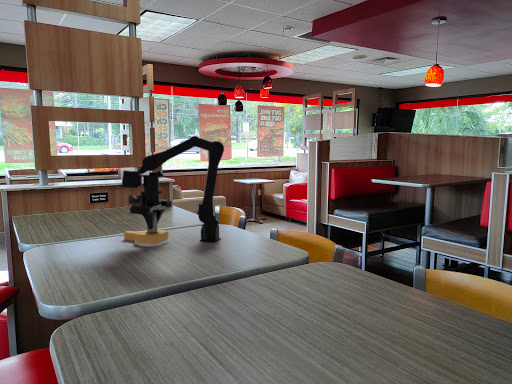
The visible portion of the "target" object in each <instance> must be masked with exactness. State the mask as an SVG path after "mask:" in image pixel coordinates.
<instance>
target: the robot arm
mask: <svg viewBox="0 0 512 384" xmlns="http://www.w3.org/2000/svg"><path fill="white" fill-rule="evenodd" d="M194 148H199V149H201V150H205V151H207V159H208V165H207V172H206V177H205V182H204V183H205V184H204V190H203V196H202V200H201V202H200V201H197V209H196V211H195V212H196V214H197V216H198V220H199V222H201V223H202V224H201V228H200V239H199V242H204V243H211V244H214V243H216V242H219V241H220V240H221V239H222V238H221V237H220V225H219V220H218V217H216V216H215V215H214V194H215V189H216V182H217V175H218V170H219V165H220V162H221V160H222V157H223V154H224V151H225V146H224V145H223V143H222V142H221V141H219V140H218V141H217V140H213V141H209V140H207V139H204V138H201V137H199V136H197V135H193V136H191V137H190V138H188V139H185V140H184V141H182V142H180V143H178V144H176V145H174V146H172V147H169V148H167V149H165V150H164V151H163V150H162V151H160V152H156V153H152V154H150V155H147V156H145V157H144V158H143V159H142V165H141V167H140V168H138V170H123V171H122V180H121V186H122V189H124V190H125V189H127V190H128V189H130V190H131V189H133V190H134V189H140V186H141V187H142V186H143V190H141V192H140V195H137V196H136V195H135V194H131V195H129V196H128V203H129V205H131V206H130V207H129V214H132V215H133V214H134V215H141V216H143V218H144V220H145V223H146V227H147V226H148V228H149V229H152V226H153V221H154V217H155V212H157V225H158V224H159V222H160V220H161V218H162V217H163V216H162V215H163V214H164V212H165V211H166V209H163V207H166V208H167V209H168V208H172V206H173V204H172V201H171V200H170V199H163V198H162V199H161V198H160V194H162V193H163V192H162V190H160V177H161V178H162V177H164V175H165V174H164V173H163V172H162V171H161V170H160V169H159V170H158V171H155V170H157V169H158V168H159V167H160V166H161V167H162V165H163V164H165V163H166V162H167V161H169V160H170V159H173V158H175V157H176V156H178V155H181V154H183V153H184V152H186V151H189V150H192V149H194ZM147 172H148V173H149V174H145V173H147ZM153 211H154V212H153Z"/></svg>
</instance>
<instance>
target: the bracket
mask: <svg viewBox="0 0 512 384" xmlns="http://www.w3.org/2000/svg"><path fill="white" fill-rule="evenodd" d="M123 237H124V238H123V239H124V241H131V242H134V244H135V246H139V247H148V248H149V247H150V248H151V247H160V246H165V245H167V244H170V238H169V231H168V230H161V229H157V233H156V234H148V233H147V229H146V230H144V231H135V230H127V231H124V232H123Z"/></svg>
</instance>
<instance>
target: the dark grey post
mask: <svg viewBox="0 0 512 384" xmlns="http://www.w3.org/2000/svg"><path fill="white" fill-rule="evenodd" d="M153 212H154V211H153ZM146 230H147V233H148V234H156V233H157V230H158V224H157V212H155V217H154V221H153V226H152V229H149V228H148V226H147V225H146Z"/></svg>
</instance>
